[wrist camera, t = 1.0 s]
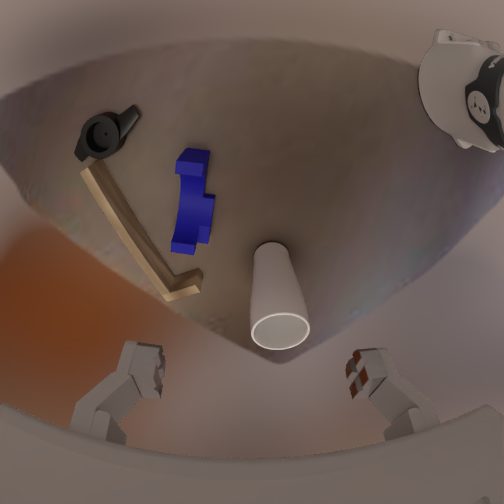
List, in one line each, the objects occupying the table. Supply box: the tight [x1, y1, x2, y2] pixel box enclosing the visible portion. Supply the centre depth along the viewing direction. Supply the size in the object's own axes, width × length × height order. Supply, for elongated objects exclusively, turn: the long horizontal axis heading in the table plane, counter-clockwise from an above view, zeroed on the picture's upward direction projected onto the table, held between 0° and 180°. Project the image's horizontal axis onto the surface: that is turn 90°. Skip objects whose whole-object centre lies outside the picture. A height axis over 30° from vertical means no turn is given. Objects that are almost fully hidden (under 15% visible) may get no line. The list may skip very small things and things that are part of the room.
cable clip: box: [171, 148, 215, 255], centre depth 34 cm, size 12×4×6 cm, turn 169°
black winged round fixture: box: [74, 105, 139, 162], centre depth 30 cm, size 8×10×3 cm
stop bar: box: [80, 159, 203, 302], centre depth 37 cm, size 6×24×4 cm, turn 22°
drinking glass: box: [250, 242, 310, 350], centre depth 37 cm, size 7×7×15 cm
